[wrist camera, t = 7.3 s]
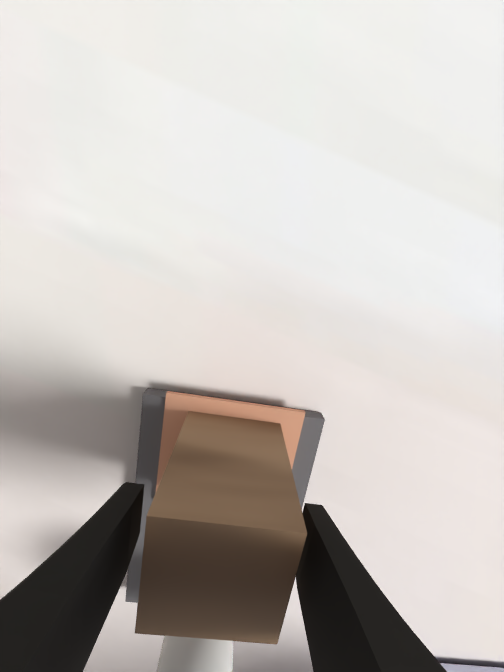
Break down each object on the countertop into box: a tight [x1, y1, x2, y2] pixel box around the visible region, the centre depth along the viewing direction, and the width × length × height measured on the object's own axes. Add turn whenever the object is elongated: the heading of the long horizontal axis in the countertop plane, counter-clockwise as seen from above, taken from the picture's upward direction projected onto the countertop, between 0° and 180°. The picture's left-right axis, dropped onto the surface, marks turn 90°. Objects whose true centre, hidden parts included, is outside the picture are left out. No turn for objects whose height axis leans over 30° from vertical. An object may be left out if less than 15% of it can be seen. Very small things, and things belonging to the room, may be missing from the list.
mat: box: [126, 388, 325, 603], centre depth 13 cm, size 13×8×1 cm, turn 170°
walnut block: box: [135, 411, 307, 644], centre depth 9 cm, size 4×4×5 cm
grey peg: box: [157, 636, 233, 672], centre depth 11 cm, size 3×3×5 cm
